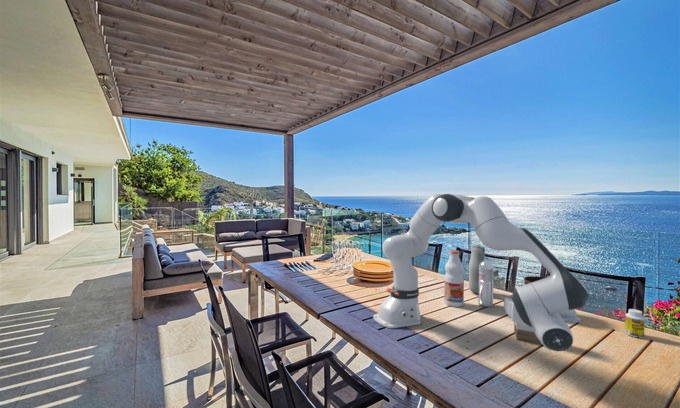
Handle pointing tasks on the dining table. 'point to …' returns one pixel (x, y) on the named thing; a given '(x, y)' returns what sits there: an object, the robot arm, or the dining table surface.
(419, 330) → the dining table surface
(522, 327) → the block top
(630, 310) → the supplement bottle
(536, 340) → the block bottom
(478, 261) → the grey thermos flask
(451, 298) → the fruit juice
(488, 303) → the water bottle
